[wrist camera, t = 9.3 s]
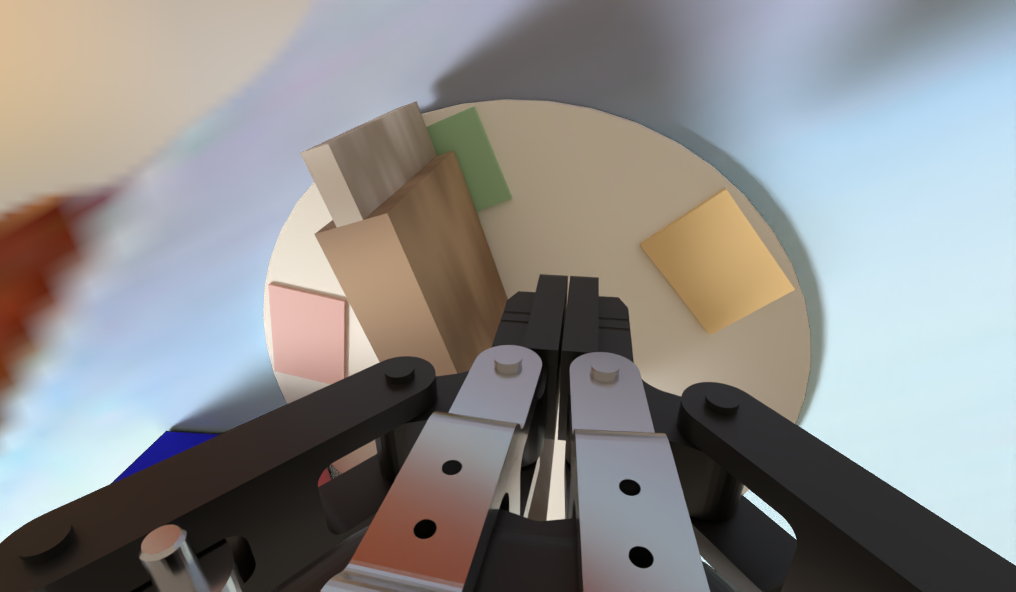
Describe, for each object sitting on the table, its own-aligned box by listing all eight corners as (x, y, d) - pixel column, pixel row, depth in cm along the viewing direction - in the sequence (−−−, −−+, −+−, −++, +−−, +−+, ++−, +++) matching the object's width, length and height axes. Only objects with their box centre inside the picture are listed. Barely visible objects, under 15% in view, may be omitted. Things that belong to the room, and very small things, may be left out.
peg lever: (569, 415, 24) (558, 565, 18) (489, 427, 25) (451, 572, 19) (457, 87, 18) (376, 128, 12) (358, 121, 19) (233, 177, 13)
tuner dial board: (910, 436, 23) (920, 449, 22) (495, 595, 33) (493, 607, 33) (567, -74, 16) (565, -78, 16) (177, 322, 27) (166, 330, 26)
